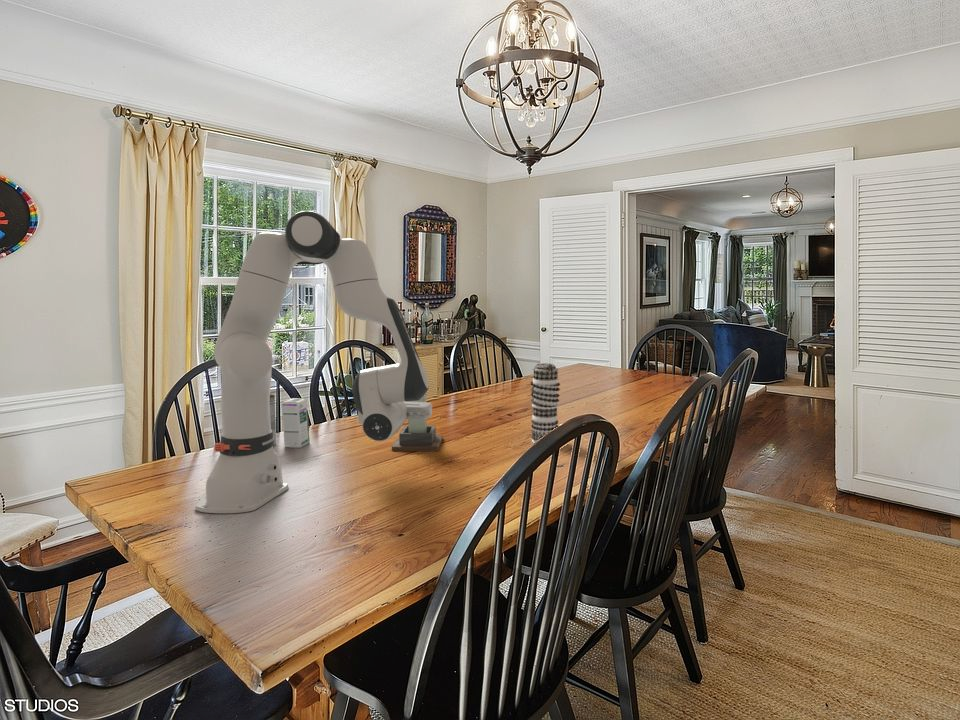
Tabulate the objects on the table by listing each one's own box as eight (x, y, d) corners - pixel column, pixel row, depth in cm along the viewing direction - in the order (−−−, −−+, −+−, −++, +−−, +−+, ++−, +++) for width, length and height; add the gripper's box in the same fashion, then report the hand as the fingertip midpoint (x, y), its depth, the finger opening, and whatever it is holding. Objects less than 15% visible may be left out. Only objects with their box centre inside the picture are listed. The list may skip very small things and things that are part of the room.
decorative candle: (551, 447, 177) (553, 367, 173) (525, 443, 181) (525, 365, 178) (563, 440, 184) (565, 363, 181) (537, 436, 189) (538, 361, 186)
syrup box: (301, 448, 177) (298, 402, 175) (283, 447, 178) (281, 401, 176) (310, 443, 182) (308, 398, 180) (293, 442, 183) (290, 397, 181)
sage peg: (424, 442, 178) (424, 395, 176) (408, 442, 178) (407, 395, 176) (426, 438, 183) (426, 392, 181) (411, 438, 183) (410, 392, 181)
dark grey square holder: (437, 451, 173) (437, 435, 173) (391, 450, 174) (391, 435, 173) (442, 438, 187) (442, 424, 186) (400, 438, 188) (399, 424, 187)
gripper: (429, 403, 151) (435, 394, 165) (353, 400, 152) (365, 391, 166) (429, 427, 152) (435, 416, 166) (352, 423, 153) (365, 412, 167)
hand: (399, 403), depth 166 cm, fingers open, 8 cm apart
